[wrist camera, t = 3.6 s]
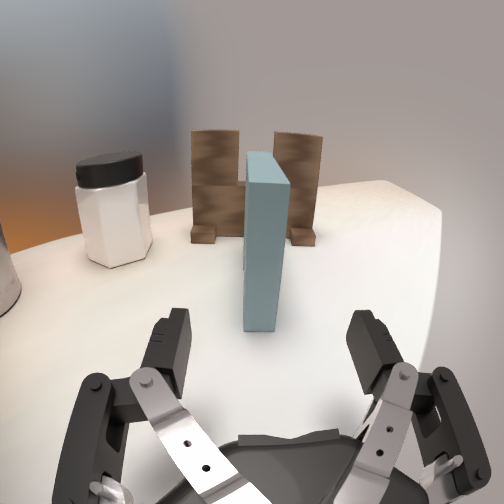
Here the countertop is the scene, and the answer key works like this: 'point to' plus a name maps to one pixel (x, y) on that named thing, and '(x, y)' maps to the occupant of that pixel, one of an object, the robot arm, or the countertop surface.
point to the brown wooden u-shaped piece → (233, 191)
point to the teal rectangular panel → (263, 240)
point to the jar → (114, 208)
